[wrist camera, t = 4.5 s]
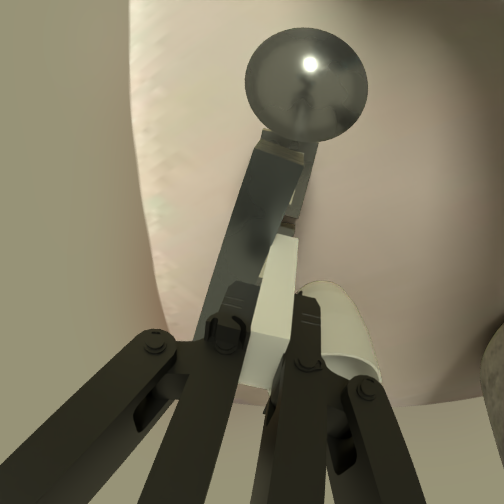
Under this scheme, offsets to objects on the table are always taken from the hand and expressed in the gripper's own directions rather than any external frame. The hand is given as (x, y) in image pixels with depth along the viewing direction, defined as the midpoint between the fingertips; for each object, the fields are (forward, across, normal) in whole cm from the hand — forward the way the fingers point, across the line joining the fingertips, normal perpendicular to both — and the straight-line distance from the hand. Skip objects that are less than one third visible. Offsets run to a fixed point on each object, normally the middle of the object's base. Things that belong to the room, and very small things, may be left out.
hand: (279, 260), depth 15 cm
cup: (+10, +5, -10) cm, 15 cm away
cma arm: (+1, -2, 0) cm, 2 cm away
